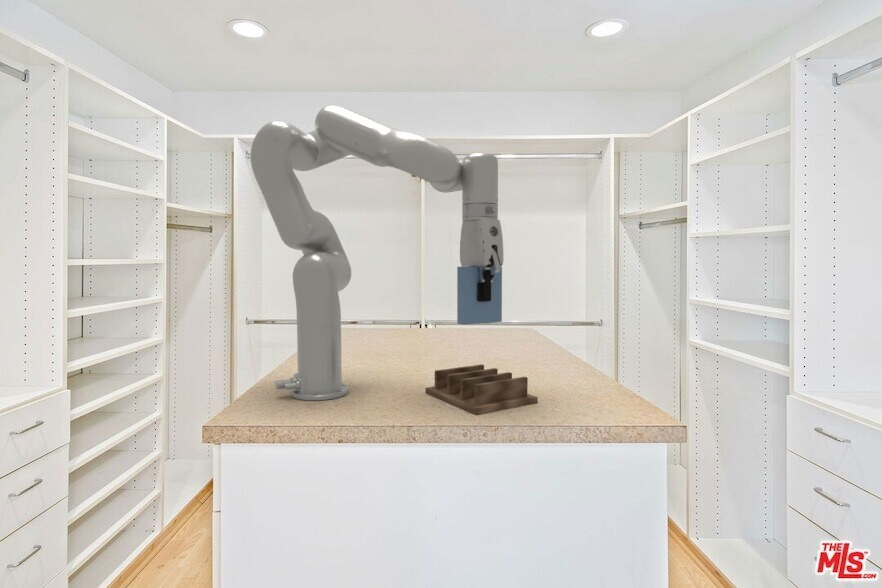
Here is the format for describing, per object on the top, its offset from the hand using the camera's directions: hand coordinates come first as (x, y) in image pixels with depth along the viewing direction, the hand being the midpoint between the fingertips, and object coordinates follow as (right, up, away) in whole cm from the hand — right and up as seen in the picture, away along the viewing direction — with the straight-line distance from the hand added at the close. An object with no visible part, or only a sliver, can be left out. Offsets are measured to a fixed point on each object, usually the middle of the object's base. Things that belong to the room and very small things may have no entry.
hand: (479, 300), depth 105 cm
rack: (0, -21, +1) cm, 21 cm away
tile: (0, -5, 0) cm, 5 cm away
